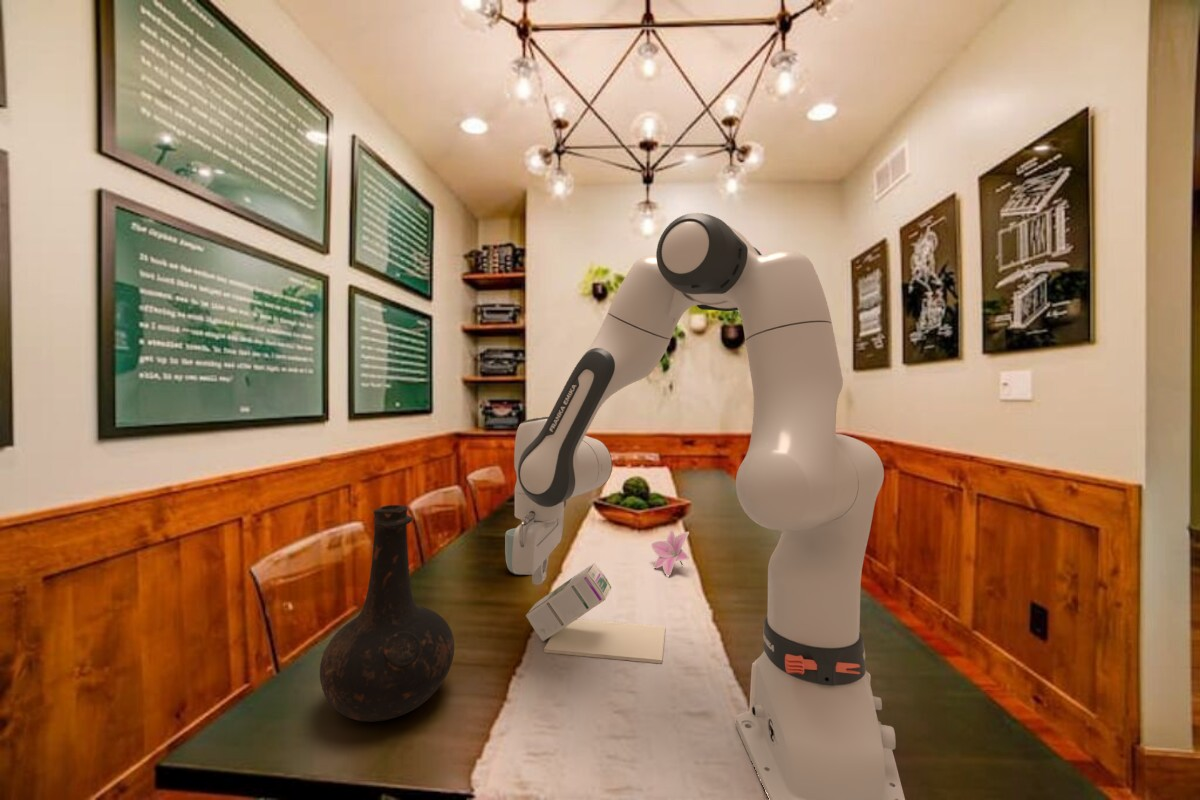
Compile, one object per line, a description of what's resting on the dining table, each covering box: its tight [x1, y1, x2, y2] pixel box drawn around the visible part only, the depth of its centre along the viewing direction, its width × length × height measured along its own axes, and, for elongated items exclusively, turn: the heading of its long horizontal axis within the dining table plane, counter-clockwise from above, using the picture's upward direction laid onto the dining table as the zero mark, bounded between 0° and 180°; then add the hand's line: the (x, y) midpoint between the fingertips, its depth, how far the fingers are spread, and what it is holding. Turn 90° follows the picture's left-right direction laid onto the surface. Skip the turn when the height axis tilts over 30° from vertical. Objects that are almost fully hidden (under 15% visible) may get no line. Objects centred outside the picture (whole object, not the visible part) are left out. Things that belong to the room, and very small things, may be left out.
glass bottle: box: [319, 504, 455, 723], centre depth 74 cm, size 18×18×28 cm
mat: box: [543, 618, 666, 665], centre depth 92 cm, size 12×20×1 cm, turn 80°
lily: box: [650, 529, 690, 576], centre depth 128 cm, size 12×12×10 cm
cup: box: [504, 527, 526, 576], centre depth 126 cm, size 8×8×10 cm
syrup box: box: [525, 562, 612, 642], centre depth 93 cm, size 6×6×14 cm
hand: (539, 581), depth 94 cm, fingers closed
